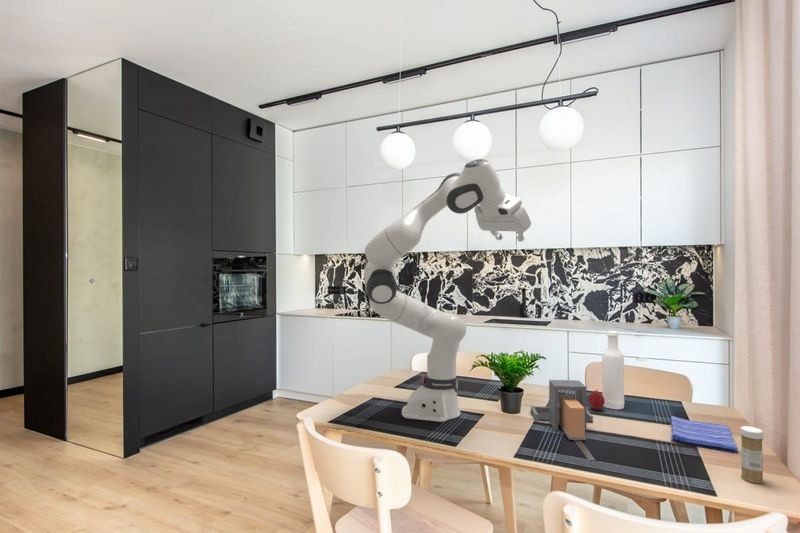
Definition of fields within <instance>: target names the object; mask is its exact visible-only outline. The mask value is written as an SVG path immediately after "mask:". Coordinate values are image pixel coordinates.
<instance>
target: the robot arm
mask: <svg viewBox="0 0 800 533" xmlns="http://www.w3.org/2000/svg"><path fill="white" fill-rule="evenodd" d="M498 176H499V175H498V174H497V172H496V169H495V168H494V167H493V165H492V163H491V162H490V161H489V160H487V159H484V158H481V159H480V158H477V159H474V160H471V161H469V162H467V163H466V164H465V165H464V167H463V169H462V171H461V173H459V172H453V173H451V174H448V175H447V176H445V178H443V180H442V181H441V183H440V184H439V186H438V188H437V189H436V190H435V191H434V192H433V193H432V194H430V195H429V196H428V197H427V198H425V199H424V200H422V201H421V202H420V203H419V204H417V206H415V207H414V208H413V209H411V210H410V211H409V212H407V213H406V214H404V215H403V216H401V217H399V219H397V220H395V221H394V222H392V223H390V225H388V226H386V227H385V228H384V229H382V230H381V231H380V232H379V233H378V234H376V235H375V236H373V238H372V239H371V240H370V241H369V242H368V243H367V244H366V246H365V248H364V253H365V257H366V260H365V263H364V266H363V269H364V272H363V276H364V277H363V279H364V285H365V292H366V295H367V297H368V298H369V307H370V309H371V310H372V311H373V312H374V313H376V314H377V315H379V316H381V317H383V318H384V319H387V320H388V321H390V322H392V323H395V324H398V325H400V326H403V327H405V328H407V329H410V330H412V331H414V332H417V333H419V334H421V335H423V336H425V337H428V338H431V339H432V344H431V348H430V351H429V353H428V354H427V356H426V369H427V370H426V374H422V375H421V378H420V379H421V386H420V387H418V388H417V389H415V390H414V391H413V392H411V393H410V395H409V397H408V400H407V404H405V405H403V407H402V408H401V415H402V417H403V418H405V419H410V420H411V419H412V420H421V421H430V422H440V423H442V422H446V421H448V420H451V419H456V418H458V417H459V416H460V415H461V410H460V406H459V400H458V393H457V392H458V388H459V387H458V386H459V385H458V384H459V382H458V381H459V380H458V377H457V355H458V354H457V353H458V350H459V346H460V342H461V341H462V340H463V339H464V338H465V336H466V333H467V325H466V323H465V321H464V320H463V319H462V318H460V317H459V316H458V315H456V314H455V313H454V314H453V313H451V312H446V311H442V310H439V309H436V308H434V307H432V306H429V305H428V304H426V303H424V302H423V301H421V300H419V299H417V298H414V297H413V296H411V295H409V294H406V293H403V292H400V291H398V284H397V275H396V272H395V268H394V264H395V262H397V261H398V260H399V259H400V258H402V257H403V256H405V255H407V254H408V253H410V252H411V251H412V250H413V249H415V247H416V246H417V245H418V244H419V242H420V241H421V238H422V234H423V231H424V229H425V227H426V225H427V223H429V221H430V220H431V219H432V218H433V217H435V216H436V215H437V214H438V213H440V212H441V211H442V210H443V209H445V208H446V207H448V209H449V210H450V211H451V212H453V213H455V214H460V215H461V214H466V213H467V212H470V211H471V210H473V209H474V210H473V211H474V213H475V219H476V222H477V224H478V227H479V229H481V231H487V232H489V233H490V234H491V235H492V236H494V237H495V240H496V241H501V240H502V239H504V238H503V234H502V233H499V232H515V233H516V234H517V236H516V237H515V238H516V240H517V242H521V243H522V242H523V241H525V237H524V232H526V231H527V230H528V229H530V227H531V225H532V222H531V219H530V216H529V214H528V213H527V210H526V209H525V208H524V207H523V206H522V204H523V201H522V199H521V198H519V197H515V196H512V195H510V194H508V193H505V190H504V189H503V187H502V186H501V183H500V179H499V177H498Z"/></svg>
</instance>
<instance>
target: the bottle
mask: <svg viewBox="0 0 800 533" xmlns="http://www.w3.org/2000/svg"><path fill="white" fill-rule="evenodd" d="M606 335H607V348H606V350H604V351H603V354H602V356H601V359H602V360H601V361H602V362H601V363H602V364H601V368H602V369H601V377H602V378H601V383H602V384H601V386H602V388H601V389H602V391H601V392H602V393H601V394H602V395H603V397H604V399H605V403H604V405H603V407H604V408H607V409H609V410H622V409H624V408H625V365H624V364H625V358H624V354H623V353H622V352H621V350H619V332H618V331H617V330H608V331H607V334H606Z"/></svg>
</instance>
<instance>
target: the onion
mask: <svg viewBox="0 0 800 533" xmlns="http://www.w3.org/2000/svg"><path fill="white" fill-rule="evenodd" d="M587 400H588V403H589V405H590V407H592V409H594V410H595V411H598V410H600V409H601V408H603V407H604V406H603V405H604V403H605V399H604V397H603V395H602V393H601V392H599V390H598V389H597V388H595V390H594V391H592V392H591V393H590V394H589V396H588V399H587Z"/></svg>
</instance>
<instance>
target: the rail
mask: <svg viewBox="0 0 800 533" xmlns="http://www.w3.org/2000/svg"><path fill="white" fill-rule="evenodd" d="M573 441H574V442H575V444H576V445H577V447H578V449H580V451H581V452H582V453H583V455H584V456H585V458H586V459H587V460H588V461H594V462H595V461H597V460H596V459H595V458H594V456H593V455H592V453H591V452H590V451H589V449H588V448H587V447H586V445H585V444H584V442H583V440H573Z"/></svg>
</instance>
